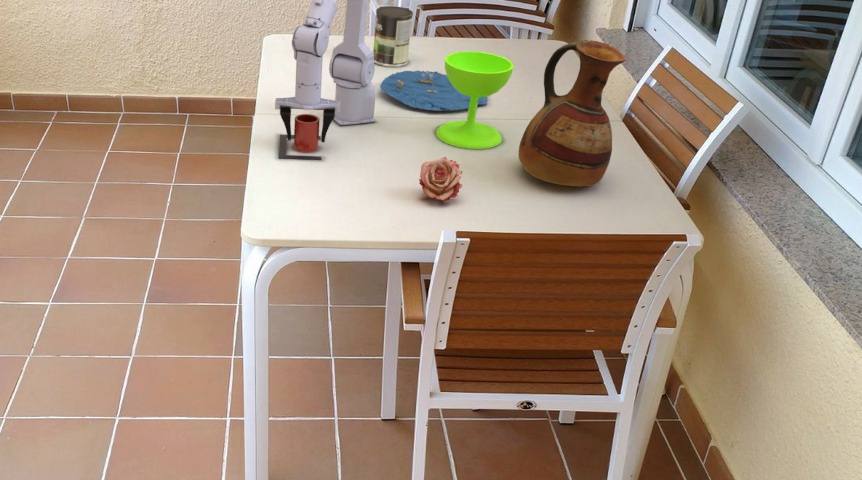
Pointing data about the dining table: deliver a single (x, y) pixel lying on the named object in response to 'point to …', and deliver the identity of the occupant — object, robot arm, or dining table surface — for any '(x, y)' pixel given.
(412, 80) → the decorative plate
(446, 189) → the flower
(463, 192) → the dining table surface
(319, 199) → the dining table surface
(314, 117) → the tumbler
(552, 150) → the ceramic pitcher
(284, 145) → the tape bay
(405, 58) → the coffee can
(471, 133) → the wineglass
